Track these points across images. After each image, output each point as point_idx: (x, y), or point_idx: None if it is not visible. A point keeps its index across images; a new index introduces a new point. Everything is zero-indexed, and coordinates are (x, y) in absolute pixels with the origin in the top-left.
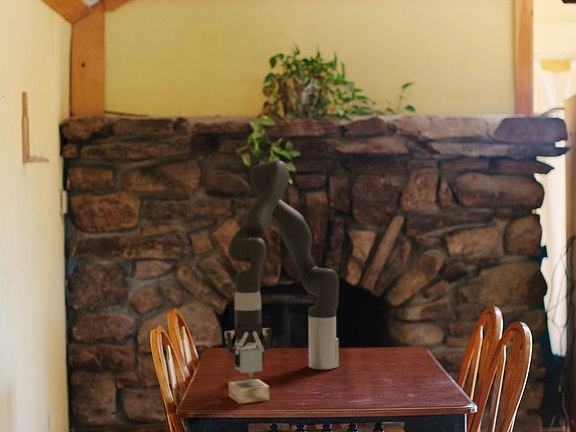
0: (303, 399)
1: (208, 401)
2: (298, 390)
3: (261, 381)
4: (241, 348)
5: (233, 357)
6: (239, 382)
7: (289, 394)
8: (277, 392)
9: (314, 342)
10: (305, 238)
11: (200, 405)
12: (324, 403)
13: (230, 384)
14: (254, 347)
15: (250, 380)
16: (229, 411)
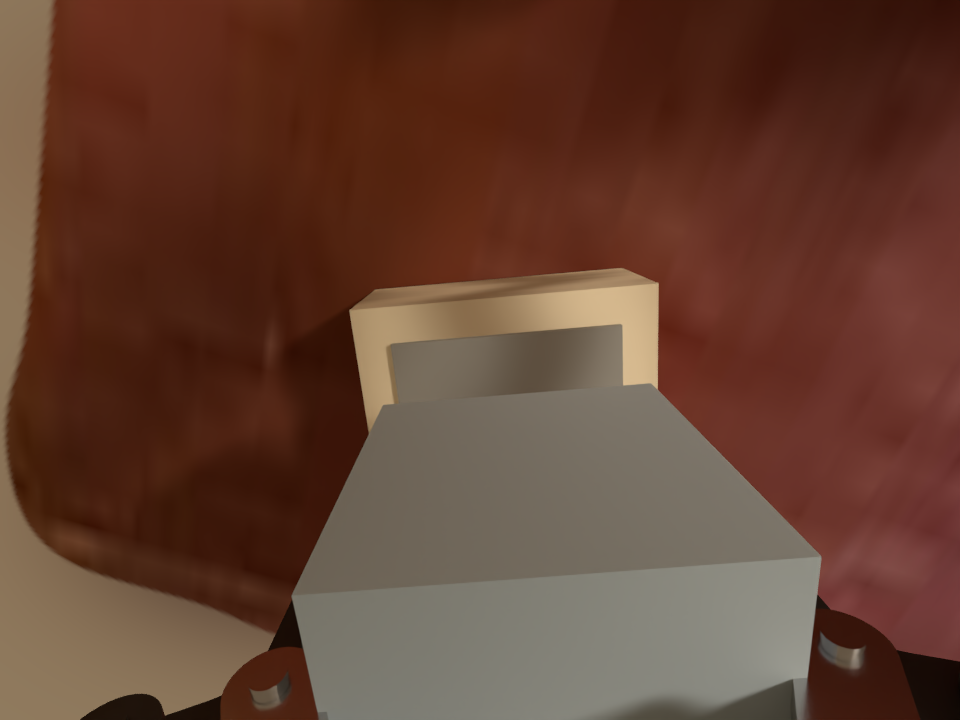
0: (841, 539)
1: (205, 388)
2: (942, 307)
3: (654, 386)
4: (428, 692)
5: (284, 629)
6: (440, 386)
7: (820, 395)
8: (765, 311)
9: None
10: None
11: (144, 466)
12: (907, 649)
13: (360, 356)
14: (751, 676)
15: (561, 345)
16: None
